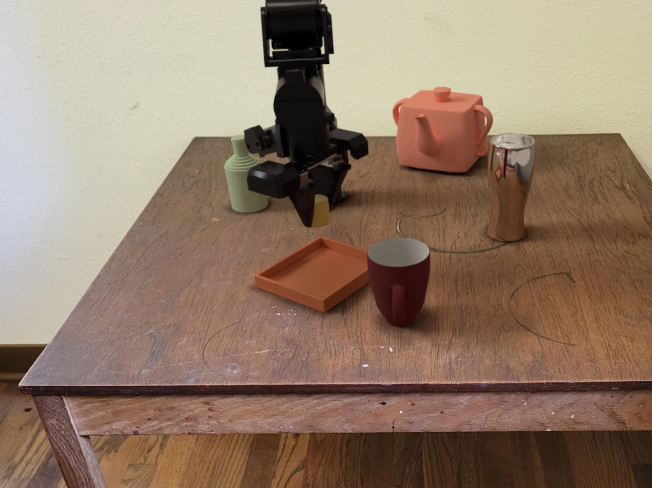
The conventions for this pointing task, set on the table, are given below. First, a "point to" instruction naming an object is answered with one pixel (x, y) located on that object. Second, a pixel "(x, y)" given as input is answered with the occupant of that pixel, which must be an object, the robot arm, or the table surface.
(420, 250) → the mug
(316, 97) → the robot arm
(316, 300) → the tray
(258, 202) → the bottle
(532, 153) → the beer glass
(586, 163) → the table surface
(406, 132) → the teapot
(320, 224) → the bottle cap
